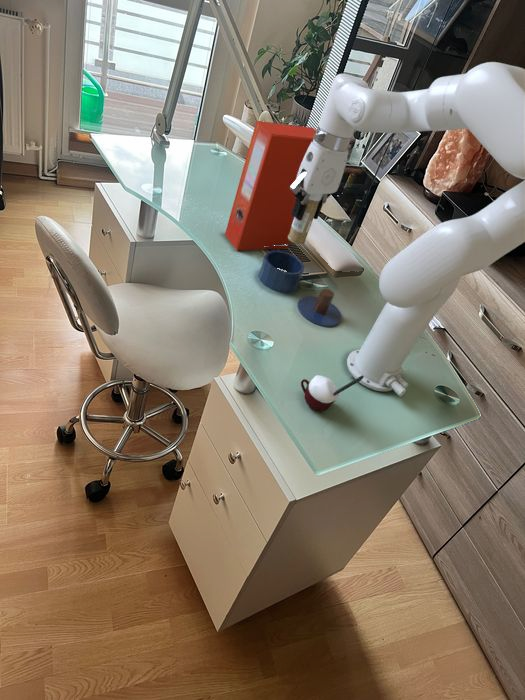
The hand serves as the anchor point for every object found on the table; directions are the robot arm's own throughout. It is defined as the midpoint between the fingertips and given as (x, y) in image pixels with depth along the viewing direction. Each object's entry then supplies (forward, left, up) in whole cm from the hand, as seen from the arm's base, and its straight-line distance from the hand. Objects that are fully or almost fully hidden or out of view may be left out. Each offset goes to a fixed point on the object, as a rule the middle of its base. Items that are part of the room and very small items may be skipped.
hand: (304, 216), depth 118 cm
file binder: (+19, -6, -20) cm, 28 cm away
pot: (+1, 0, -20) cm, 20 cm away
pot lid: (-13, -3, -19) cm, 23 cm away
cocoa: (-37, +18, -20) cm, 46 cm away
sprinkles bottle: (0, 0, -7) cm, 7 cm away
